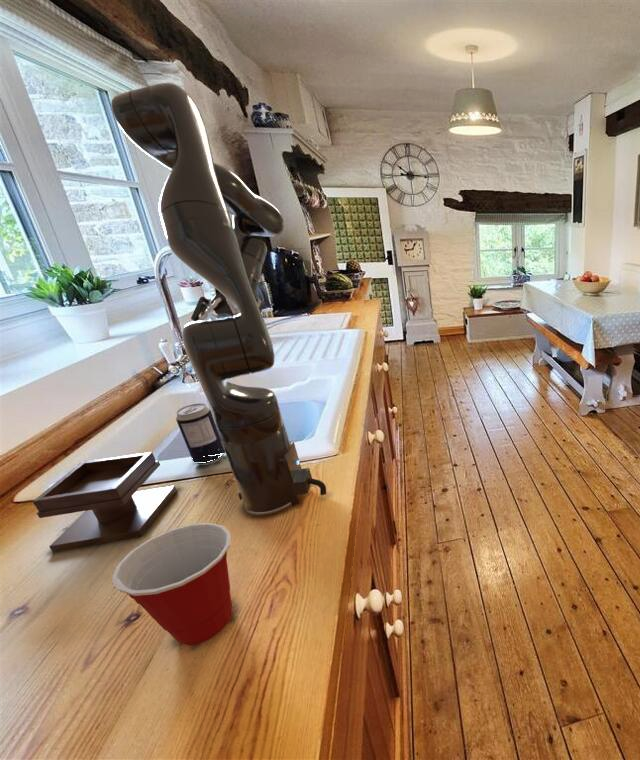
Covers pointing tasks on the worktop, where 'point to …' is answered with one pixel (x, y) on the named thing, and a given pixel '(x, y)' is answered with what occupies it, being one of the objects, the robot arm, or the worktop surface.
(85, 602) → the worktop surface
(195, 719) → the worktop surface
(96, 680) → the worktop surface
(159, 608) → the plastic cup
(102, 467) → the cup stand
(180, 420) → the beverage can
